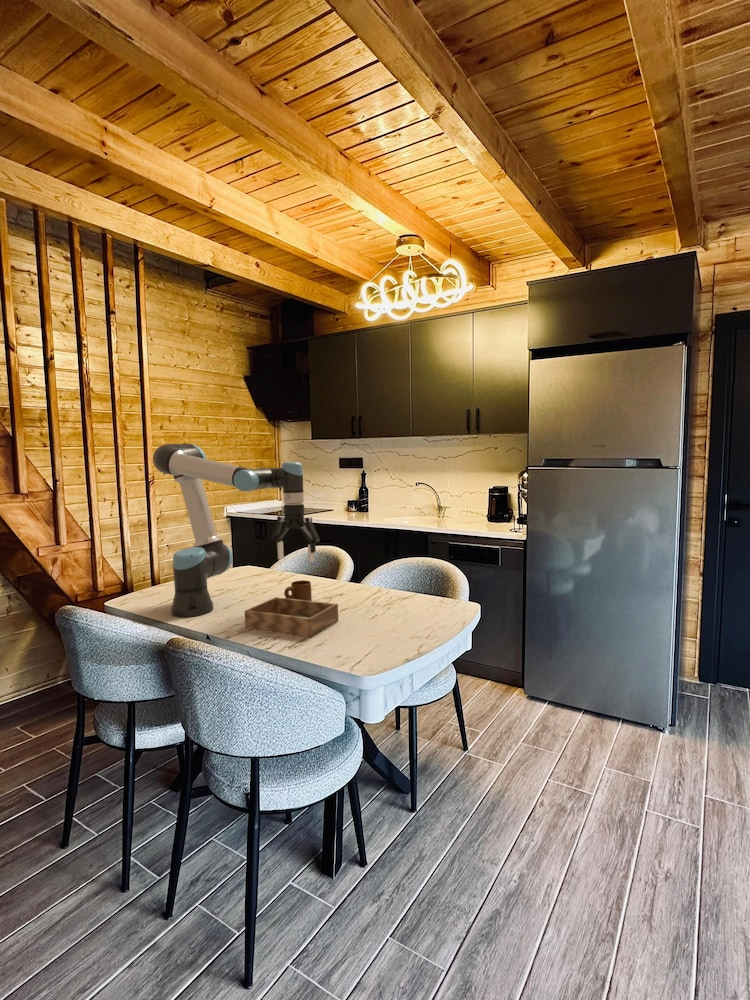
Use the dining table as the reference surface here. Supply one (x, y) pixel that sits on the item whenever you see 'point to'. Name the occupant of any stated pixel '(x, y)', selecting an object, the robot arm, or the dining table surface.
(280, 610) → the crate
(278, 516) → the robot arm
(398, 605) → the dining table surface
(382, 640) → the dining table surface
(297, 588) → the mug
